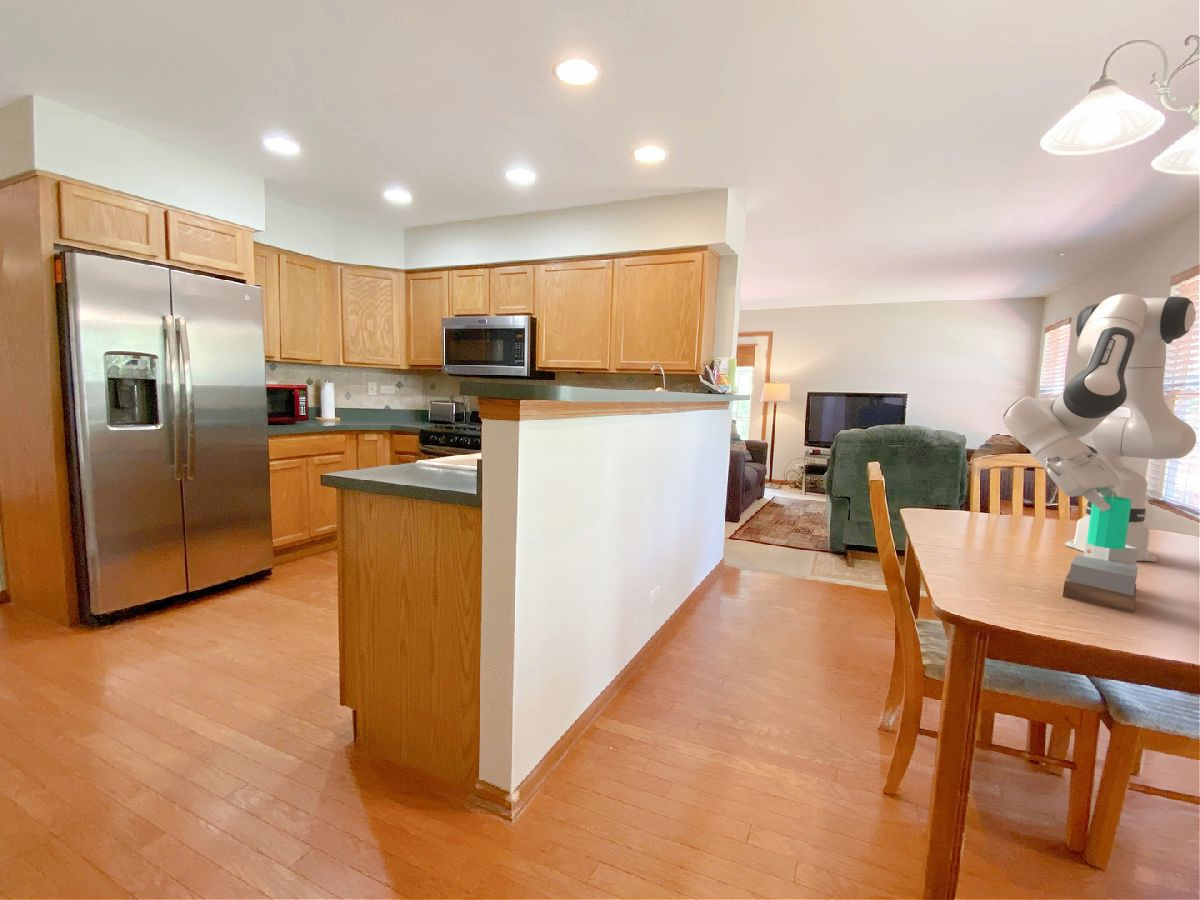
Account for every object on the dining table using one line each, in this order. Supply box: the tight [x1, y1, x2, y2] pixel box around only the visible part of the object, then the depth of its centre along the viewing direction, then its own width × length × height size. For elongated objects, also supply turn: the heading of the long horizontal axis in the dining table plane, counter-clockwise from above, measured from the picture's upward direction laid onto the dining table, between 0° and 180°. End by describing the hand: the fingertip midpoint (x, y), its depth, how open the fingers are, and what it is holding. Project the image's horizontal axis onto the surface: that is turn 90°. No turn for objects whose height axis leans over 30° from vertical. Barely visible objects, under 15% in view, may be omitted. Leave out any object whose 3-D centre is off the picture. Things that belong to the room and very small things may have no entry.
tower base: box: [1062, 570, 1137, 614], centre depth 115 cm, size 11×11×4 cm
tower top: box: [1069, 554, 1139, 596], centre depth 114 cm, size 10×10×4 cm
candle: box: [1087, 491, 1132, 549], centre depth 113 cm, size 6×6×12 cm
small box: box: [1083, 538, 1138, 566], centre depth 123 cm, size 8×6×10 cm
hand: (1114, 508), depth 112 cm, fingers closed on candle, 5 cm apart
